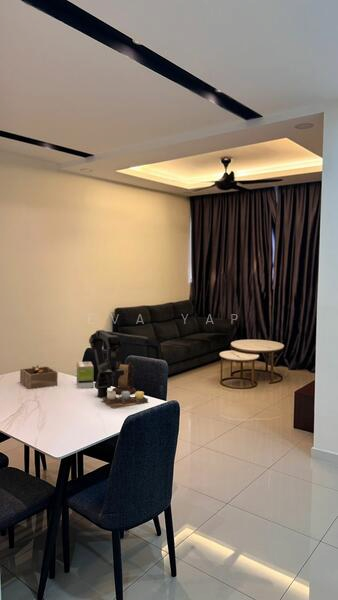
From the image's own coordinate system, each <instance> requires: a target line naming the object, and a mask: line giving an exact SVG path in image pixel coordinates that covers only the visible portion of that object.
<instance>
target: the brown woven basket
mask: <svg viewBox="0 0 338 600" xmlns="http://www.w3.org/2000/svg"><path fill="white" fill-rule="evenodd" d="M117 367H119V369H121V370H123V371H124V375H121V376H120V377H119V379H118V381H117V383H116V385H115V386H114V388H112V389H111V391H115V392H116V395H121V392H123V391H129V392H130V395H133V394H135V392H137V389H136V388H135V387H134V386H133V383H134V378H133V377H134V366H133V365H132V362H129V363H128V364H122V361H119V362H118V363H117Z"/></svg>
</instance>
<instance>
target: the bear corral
mask: <svg viewBox="0 0 338 600" xmlns="http://www.w3.org/2000/svg"><path fill="white" fill-rule="evenodd" d="M40 370H43V373H41V374H33V373H34V372H33V368H32V367H30V368H28V367H27V368H20V370H19V371H20V372H19V373H20V377H19V383H20V384H21V385H22V386H24V387H25V388H27V389H28V390H32V389H43V388H48V387H56V386H58V373H59V372H58V371H57V370H54V369H53V368H51V367H50V366H41V367H40V366H39V371H40Z"/></svg>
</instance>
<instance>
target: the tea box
mask: <svg viewBox="0 0 338 600" xmlns="http://www.w3.org/2000/svg"><path fill="white" fill-rule="evenodd" d="M94 368H95V367H94V365H93V362H92V361H77V362H76V384H77V387H78V389H79V388H81V389H92V388H91V387H93V388H94V385H95V382H94V375H95V371H94V370H95V369H94Z"/></svg>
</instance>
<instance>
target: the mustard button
mask: <svg viewBox="0 0 338 600" xmlns="http://www.w3.org/2000/svg"><path fill="white" fill-rule="evenodd" d="M134 394H135V395H134V396H135V399H137V400H141V399H144V397H145V395H144V394H145V392H144V391H140V390H136V392H135V393H134Z"/></svg>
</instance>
